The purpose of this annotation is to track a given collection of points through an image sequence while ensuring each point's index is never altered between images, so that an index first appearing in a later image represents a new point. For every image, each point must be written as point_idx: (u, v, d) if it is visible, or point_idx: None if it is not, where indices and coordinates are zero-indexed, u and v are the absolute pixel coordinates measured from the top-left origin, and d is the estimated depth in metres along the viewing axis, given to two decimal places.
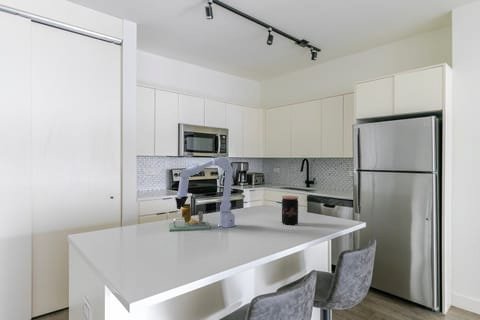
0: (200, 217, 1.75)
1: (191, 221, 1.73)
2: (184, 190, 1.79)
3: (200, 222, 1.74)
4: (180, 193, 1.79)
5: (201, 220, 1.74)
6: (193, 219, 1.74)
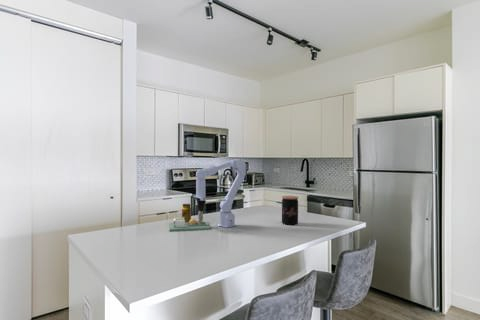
0: (200, 217, 1.75)
1: (191, 221, 1.73)
2: (203, 191, 1.74)
3: (200, 222, 1.74)
4: (200, 195, 1.73)
5: (201, 220, 1.74)
6: (193, 219, 1.74)
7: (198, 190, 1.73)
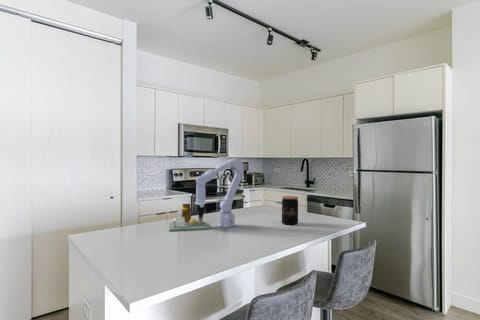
0: None
1: (191, 221, 1.73)
2: (203, 198, 1.74)
3: (200, 222, 1.74)
4: (200, 201, 1.73)
5: (201, 220, 1.74)
6: (193, 219, 1.74)
7: (198, 197, 1.73)
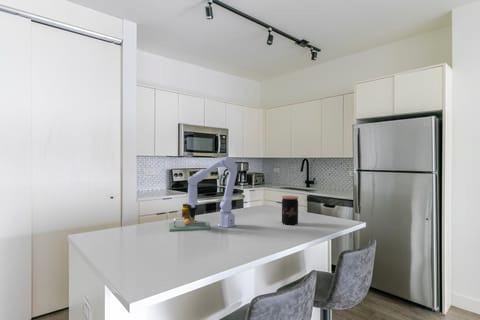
0: None
1: (186, 224, 1.72)
2: (195, 198, 1.73)
3: (192, 222, 1.73)
4: (191, 202, 1.72)
5: (193, 220, 1.73)
6: None
7: (190, 197, 1.72)
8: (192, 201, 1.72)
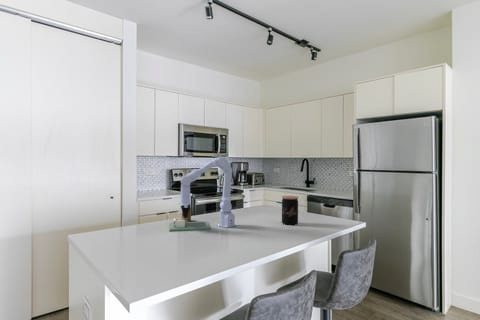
0: (185, 218, 1.72)
1: None
2: (188, 198, 1.72)
3: (185, 223, 1.72)
4: (184, 202, 1.71)
5: (186, 221, 1.72)
6: None
7: (182, 197, 1.71)
8: (185, 201, 1.71)
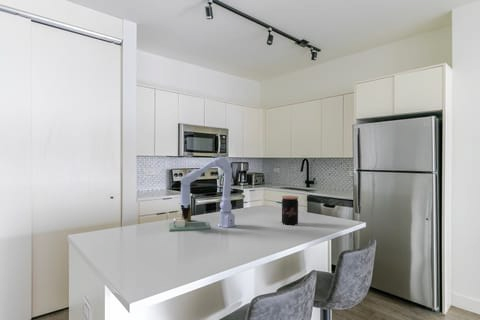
0: None
1: None
2: (188, 198, 1.72)
3: (185, 223, 1.72)
4: (184, 202, 1.71)
5: (186, 221, 1.72)
6: None
7: (182, 197, 1.71)
8: (185, 201, 1.71)
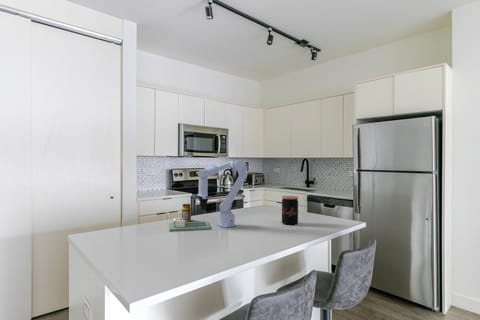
0: (185, 218, 1.72)
1: None
2: (206, 190, 1.80)
3: (185, 223, 1.72)
4: (202, 193, 1.79)
5: (186, 221, 1.72)
6: None
7: (200, 189, 1.80)
8: (203, 193, 1.79)
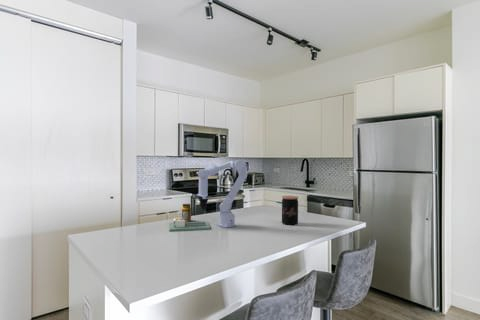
0: (185, 218, 1.72)
1: None
2: (206, 190, 1.80)
3: (185, 223, 1.72)
4: (202, 193, 1.79)
5: (186, 221, 1.72)
6: None
7: (200, 189, 1.80)
8: (203, 193, 1.79)
